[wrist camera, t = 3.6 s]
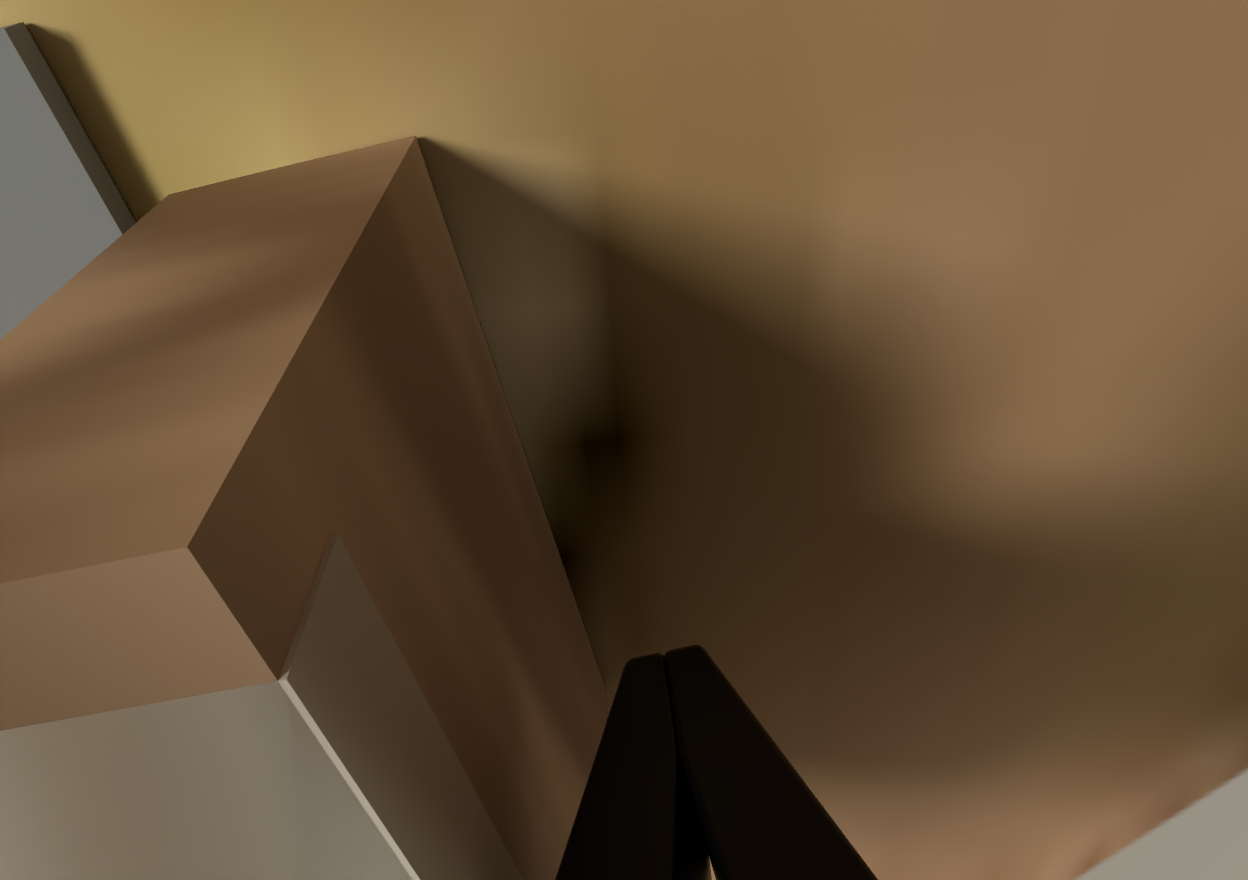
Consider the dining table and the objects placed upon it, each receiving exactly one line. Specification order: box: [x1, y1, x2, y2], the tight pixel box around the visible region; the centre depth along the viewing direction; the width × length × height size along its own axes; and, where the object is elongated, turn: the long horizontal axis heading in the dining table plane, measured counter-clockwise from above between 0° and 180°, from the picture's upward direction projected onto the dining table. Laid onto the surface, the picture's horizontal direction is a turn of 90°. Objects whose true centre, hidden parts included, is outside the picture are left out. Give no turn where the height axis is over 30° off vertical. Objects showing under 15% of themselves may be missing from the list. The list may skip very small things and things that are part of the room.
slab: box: [0, 136, 607, 880], centre depth 10 cm, size 3×10×7 cm, turn 12°
